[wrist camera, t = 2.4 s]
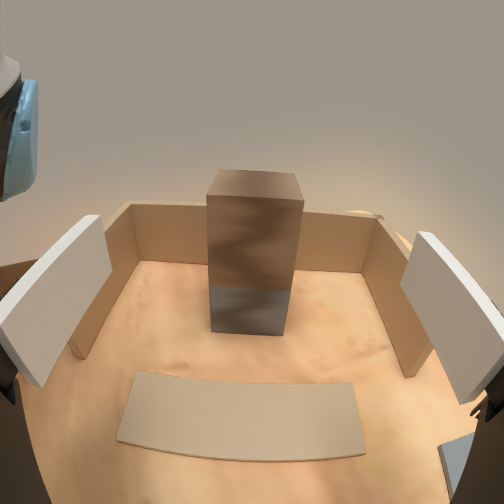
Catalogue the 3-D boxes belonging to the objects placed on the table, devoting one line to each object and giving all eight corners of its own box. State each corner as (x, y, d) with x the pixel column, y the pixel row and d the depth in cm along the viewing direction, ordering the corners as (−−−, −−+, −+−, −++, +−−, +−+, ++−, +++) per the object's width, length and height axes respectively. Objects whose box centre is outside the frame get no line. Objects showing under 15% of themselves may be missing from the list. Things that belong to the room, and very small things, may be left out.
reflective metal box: (211, 331, 24) (206, 194, 17) (219, 288, 29) (219, 169, 23) (282, 336, 24) (304, 200, 17) (279, 291, 29) (293, 173, 23)
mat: (459, 593, 2) (463, 593, 1) (437, 447, 13) (441, 444, 13) (543, 529, 2) (547, 527, 1) (513, 415, 14) (516, 412, 13)
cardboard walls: (48, 416, 14) (-2, 356, 10) (134, 254, 33) (126, 200, 29) (435, 438, 14) (491, 384, 10) (366, 268, 33) (381, 215, 29)
